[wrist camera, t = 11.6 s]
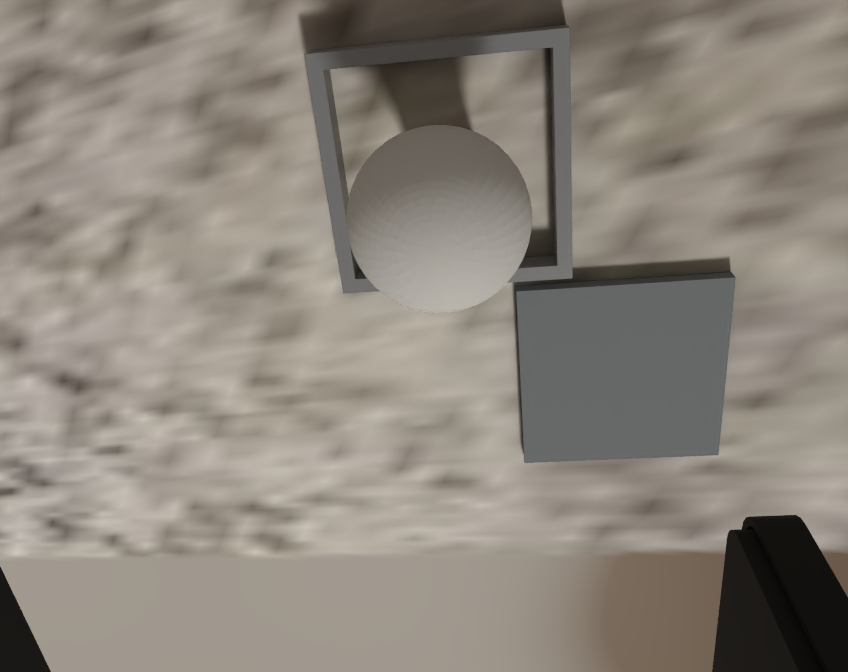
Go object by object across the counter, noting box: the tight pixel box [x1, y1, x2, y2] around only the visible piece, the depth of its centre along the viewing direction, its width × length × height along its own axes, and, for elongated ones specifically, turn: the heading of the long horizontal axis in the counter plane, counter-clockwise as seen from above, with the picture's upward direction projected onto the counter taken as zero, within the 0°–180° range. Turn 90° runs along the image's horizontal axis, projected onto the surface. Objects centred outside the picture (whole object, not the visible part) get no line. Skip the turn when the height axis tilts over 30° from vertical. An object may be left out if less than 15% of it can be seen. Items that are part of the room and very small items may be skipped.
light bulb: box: [346, 125, 532, 313], centre depth 26 cm, size 6×6×10 cm
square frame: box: [304, 25, 572, 293], centre depth 29 cm, size 10×10×1 cm
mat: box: [516, 272, 735, 463], centre depth 34 cm, size 9×9×1 cm
